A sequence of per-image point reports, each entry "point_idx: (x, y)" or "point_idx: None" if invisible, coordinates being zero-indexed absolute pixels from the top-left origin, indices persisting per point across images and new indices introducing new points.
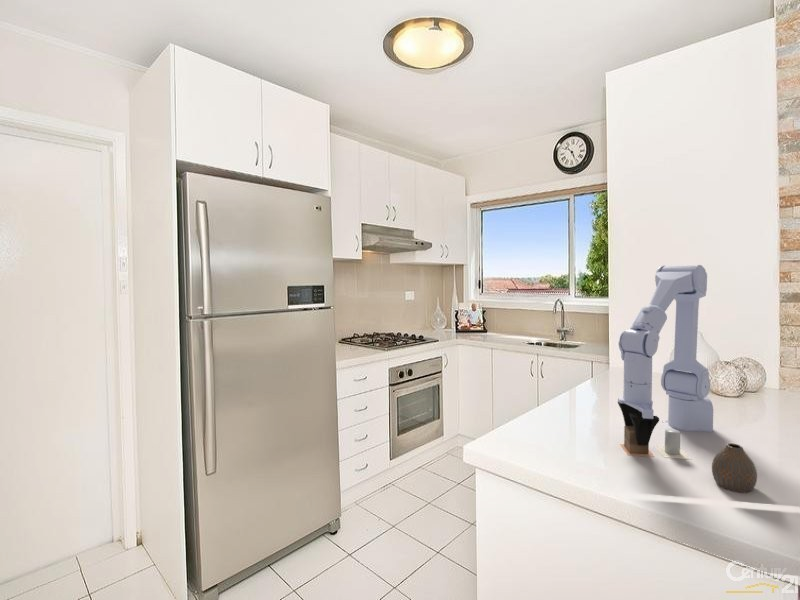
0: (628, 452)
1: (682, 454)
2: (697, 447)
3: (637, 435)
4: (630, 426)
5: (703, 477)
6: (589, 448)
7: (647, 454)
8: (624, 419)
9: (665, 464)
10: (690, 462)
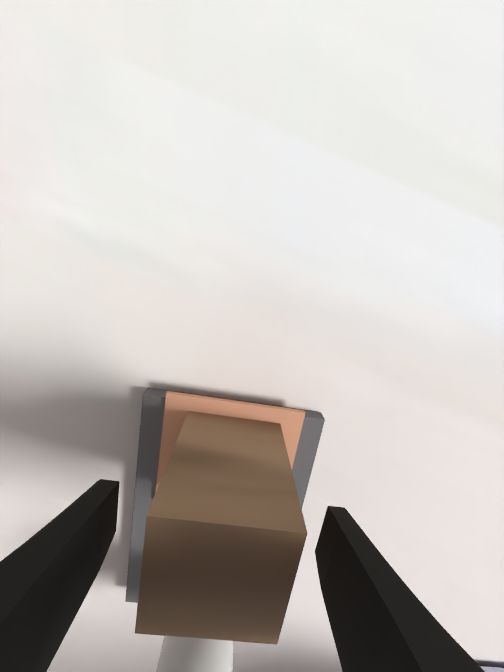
0: (196, 409)
1: None
2: (285, 668)
3: (27, 544)
4: (285, 569)
5: None
6: (297, 232)
7: None
8: (396, 596)
9: (120, 509)
10: None
